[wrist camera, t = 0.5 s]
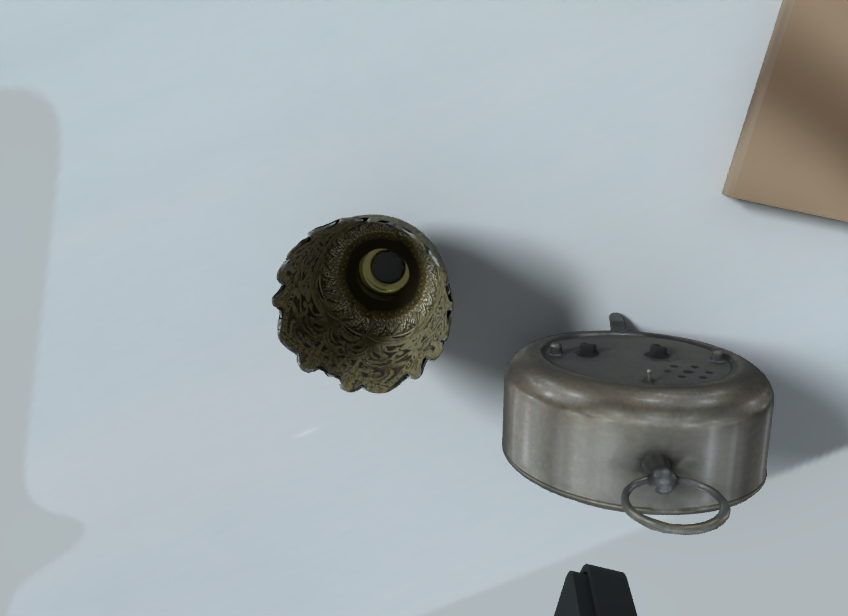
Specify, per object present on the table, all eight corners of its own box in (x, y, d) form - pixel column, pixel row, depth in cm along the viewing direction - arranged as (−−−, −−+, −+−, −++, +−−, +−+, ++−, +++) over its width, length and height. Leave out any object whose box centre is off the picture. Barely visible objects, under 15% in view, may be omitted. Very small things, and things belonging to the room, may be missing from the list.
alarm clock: (500, 398, 39) (505, 596, 24) (503, 299, 38) (512, 441, 22) (713, 406, 38) (865, 618, 23) (725, 305, 37) (897, 458, 21)
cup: (487, 239, 37) (486, 276, 29) (418, 360, 39) (400, 424, 31) (355, 166, 36) (319, 184, 29) (292, 293, 39) (243, 341, 31)
